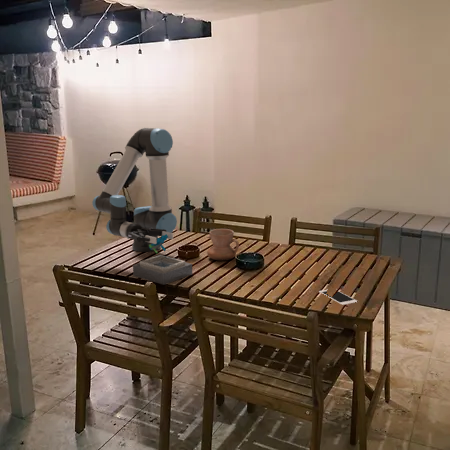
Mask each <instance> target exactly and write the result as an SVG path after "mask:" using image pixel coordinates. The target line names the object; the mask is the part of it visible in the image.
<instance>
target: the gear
mask: <svg viewBox="0 0 450 450" xmlns="http://www.w3.org/2000/svg"><path fill="white" fill-rule="evenodd" d="M167 239H168V236H167V234H166V235H163V236H160V237H158V239H157V240H156V242H157V244H150V245H149V248H150V249H151V250H154V251H153V252H155V254H158V253H159V252H158V250H155V249H156V248H158V247H160V249H162V251H163V252H166V251H167V249H166V248H165V247H164V245H163V244H164V243H165V241H167Z"/></svg>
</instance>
